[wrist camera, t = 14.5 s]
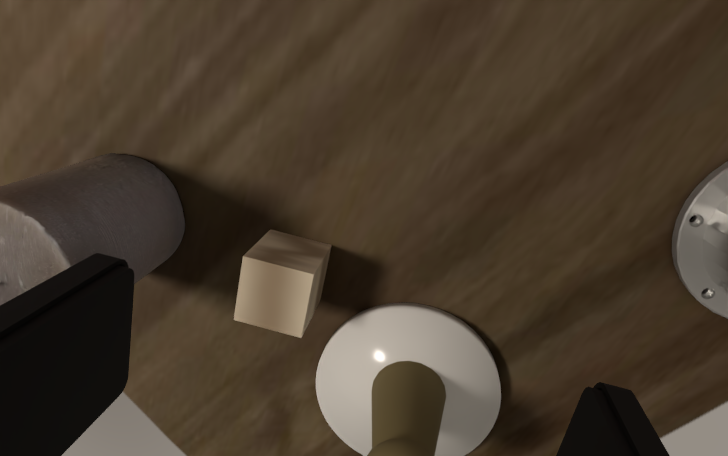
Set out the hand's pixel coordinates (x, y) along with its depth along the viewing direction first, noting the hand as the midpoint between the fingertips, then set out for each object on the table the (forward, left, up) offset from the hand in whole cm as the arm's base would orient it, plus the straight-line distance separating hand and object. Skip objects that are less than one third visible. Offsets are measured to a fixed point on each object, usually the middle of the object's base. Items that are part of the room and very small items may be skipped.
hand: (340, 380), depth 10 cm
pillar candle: (+21, +10, -28) cm, 37 cm away
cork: (-4, +19, -27) cm, 34 cm away
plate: (-4, +19, -28) cm, 34 cm away
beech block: (+7, +11, -28) cm, 31 cm away
